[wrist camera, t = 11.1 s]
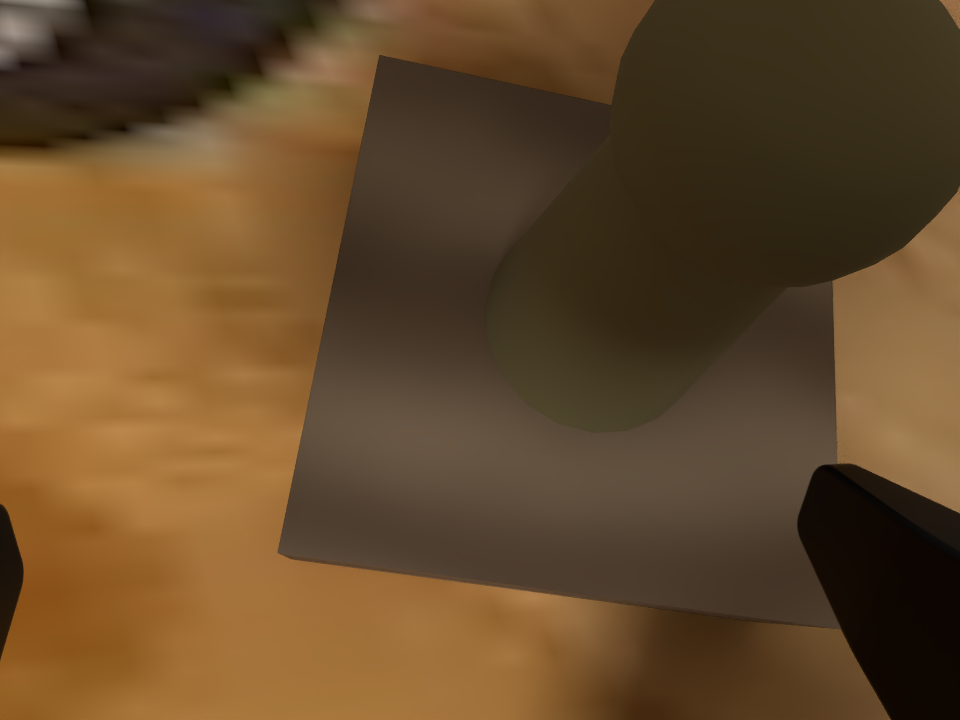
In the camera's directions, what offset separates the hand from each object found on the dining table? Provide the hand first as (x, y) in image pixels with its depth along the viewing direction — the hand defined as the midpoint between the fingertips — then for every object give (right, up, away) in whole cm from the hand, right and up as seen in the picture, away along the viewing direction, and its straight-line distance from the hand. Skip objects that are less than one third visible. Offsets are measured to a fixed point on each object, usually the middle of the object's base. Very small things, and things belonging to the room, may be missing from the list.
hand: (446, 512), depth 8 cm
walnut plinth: (+3, +2, +15) cm, 16 cm away
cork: (+3, +3, +12) cm, 13 cm away
